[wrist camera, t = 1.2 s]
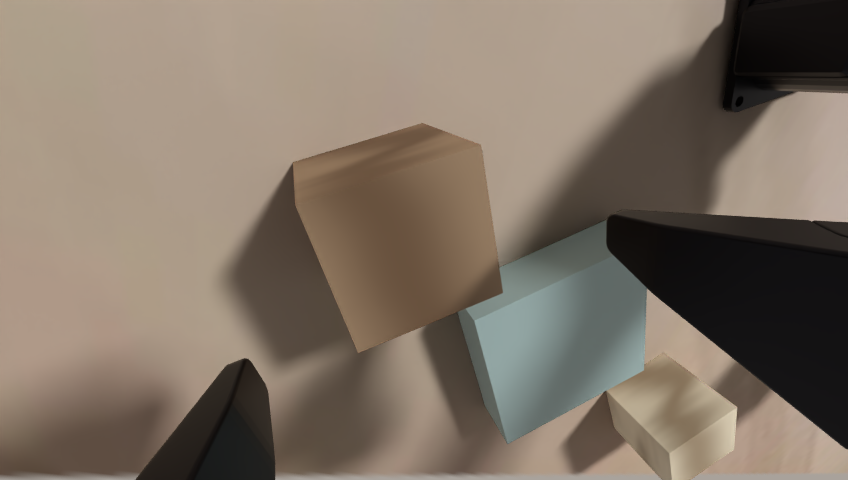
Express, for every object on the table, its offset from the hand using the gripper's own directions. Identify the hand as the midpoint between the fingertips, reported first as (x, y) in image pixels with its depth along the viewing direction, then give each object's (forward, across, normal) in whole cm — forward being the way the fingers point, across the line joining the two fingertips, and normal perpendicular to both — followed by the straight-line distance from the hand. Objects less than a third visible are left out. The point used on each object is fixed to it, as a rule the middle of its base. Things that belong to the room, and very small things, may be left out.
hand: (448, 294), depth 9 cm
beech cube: (+7, -14, +20) cm, 26 cm away
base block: (+8, -7, +10) cm, 14 cm away
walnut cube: (+7, 0, 0) cm, 7 cm away
